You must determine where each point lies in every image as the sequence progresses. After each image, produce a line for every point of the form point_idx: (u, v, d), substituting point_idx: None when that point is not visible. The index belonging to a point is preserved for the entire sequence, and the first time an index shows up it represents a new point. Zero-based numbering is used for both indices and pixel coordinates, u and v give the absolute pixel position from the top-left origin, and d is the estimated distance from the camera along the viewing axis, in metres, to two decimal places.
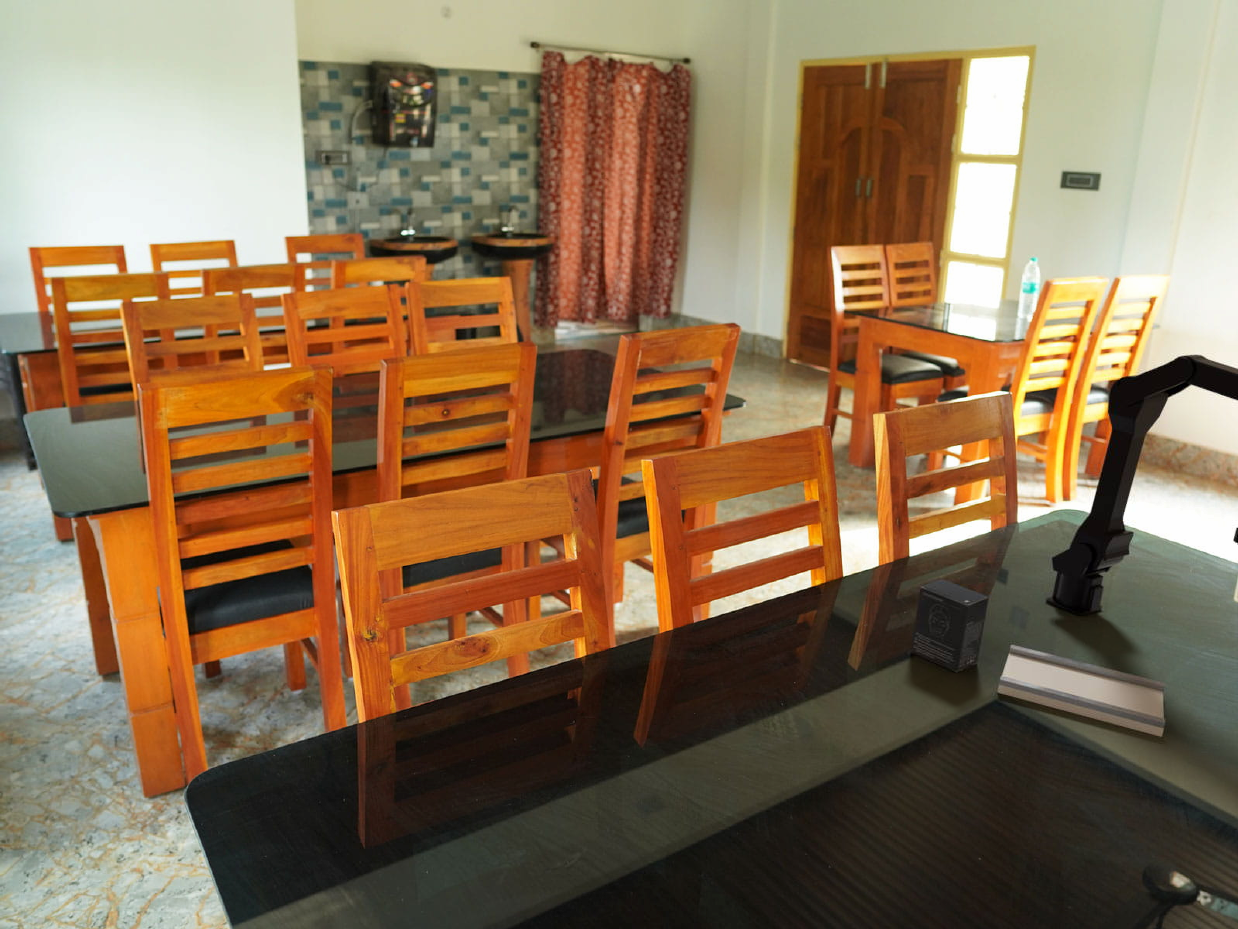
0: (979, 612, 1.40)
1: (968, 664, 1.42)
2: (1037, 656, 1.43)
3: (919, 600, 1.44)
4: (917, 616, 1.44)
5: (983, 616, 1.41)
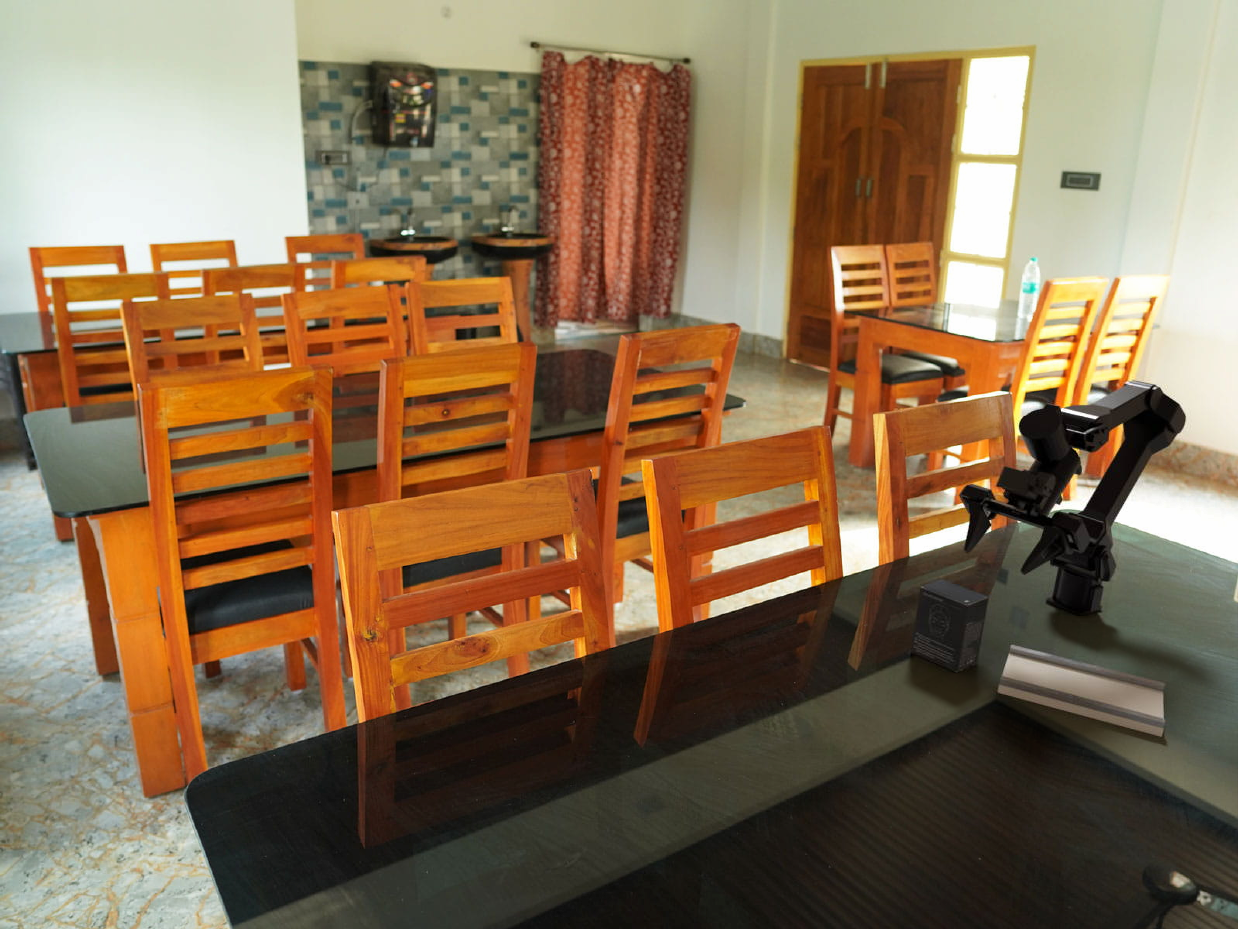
0: (979, 612, 1.40)
1: (968, 664, 1.42)
2: (1037, 656, 1.43)
3: (919, 600, 1.44)
4: (917, 616, 1.44)
5: (983, 616, 1.41)
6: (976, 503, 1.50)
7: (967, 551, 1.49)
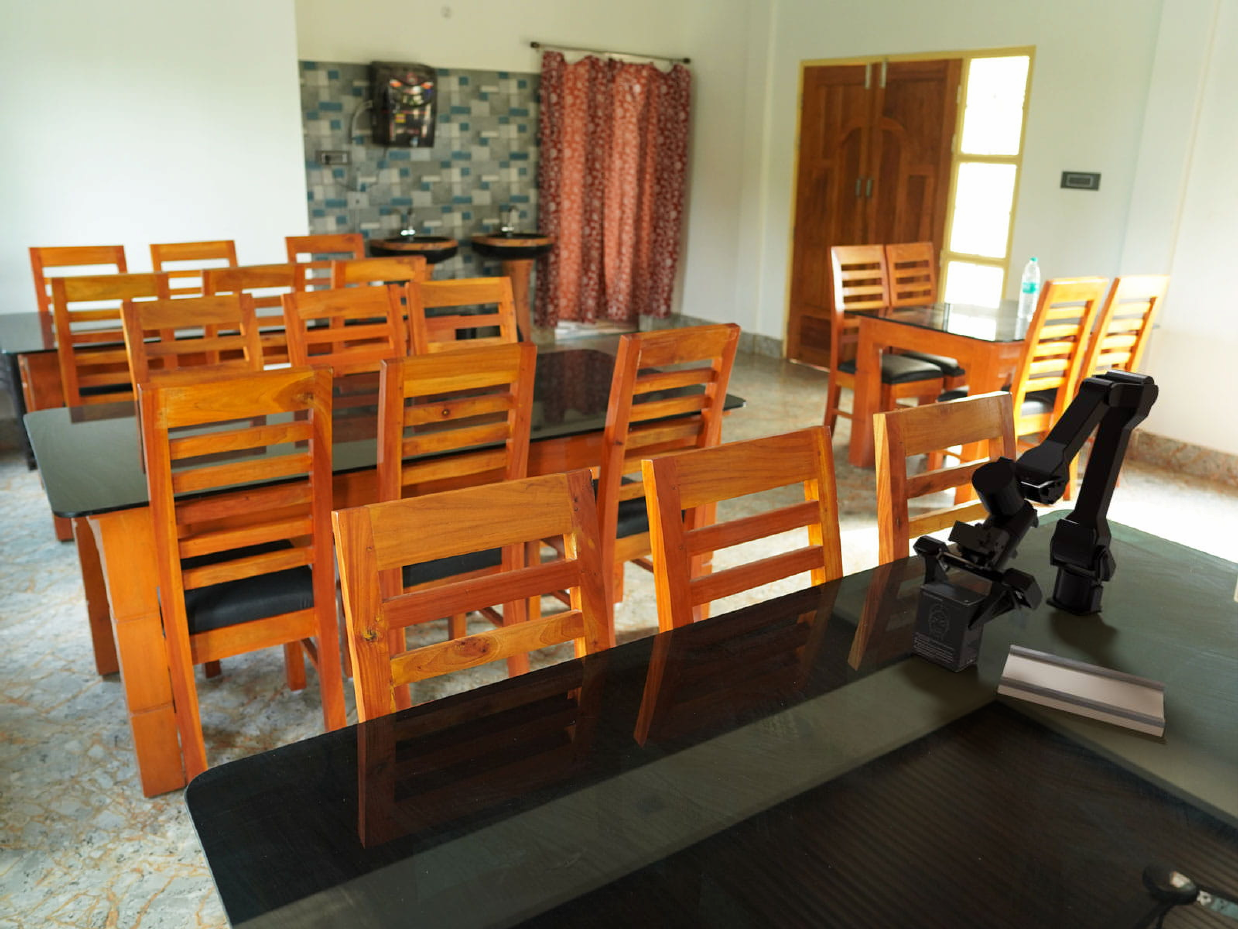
0: None
1: (968, 664, 1.42)
2: (1037, 656, 1.43)
3: (919, 600, 1.44)
4: (917, 616, 1.44)
5: None
6: (932, 557, 1.46)
7: None
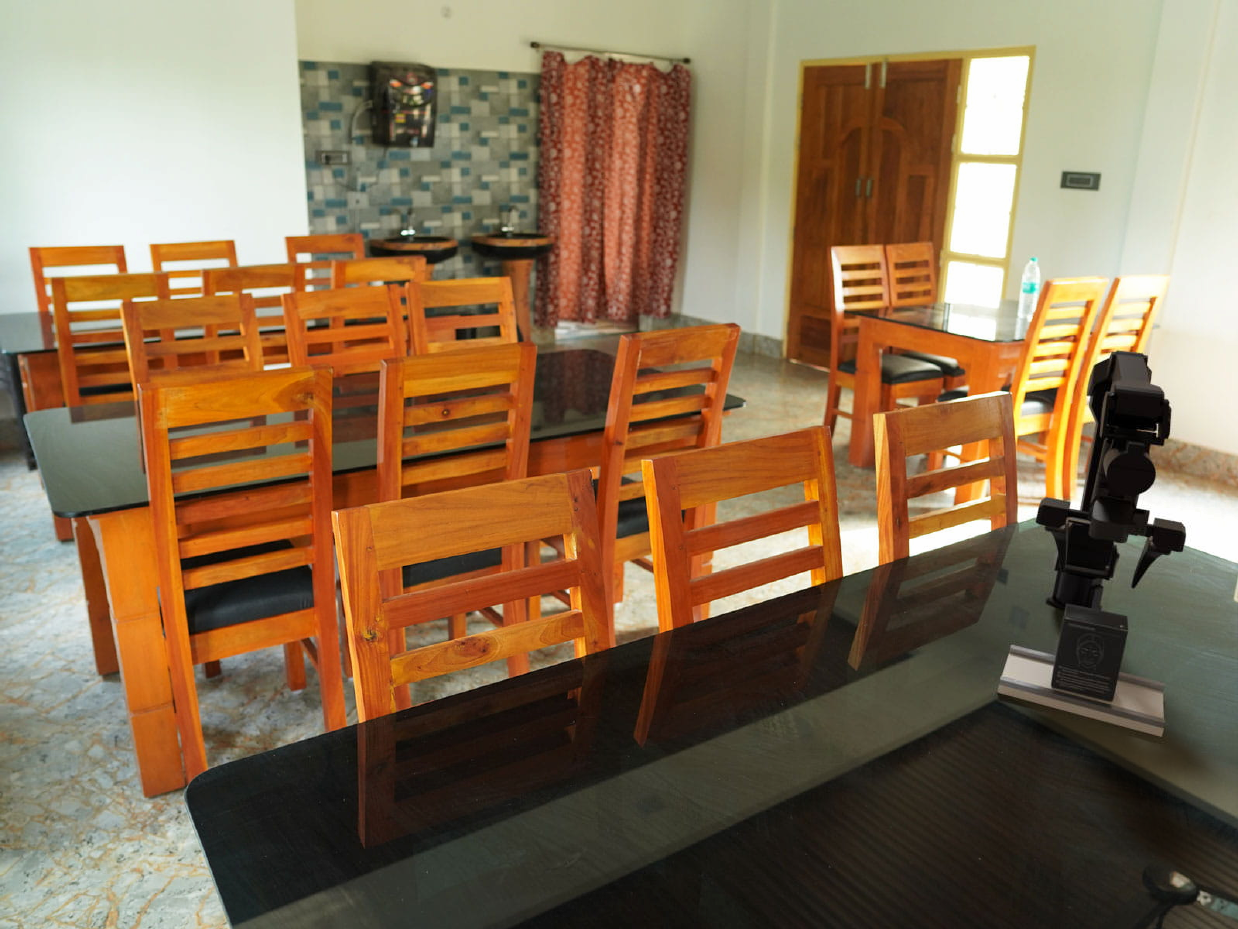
0: None
1: None
2: (1037, 656, 1.43)
3: (1063, 632, 1.33)
4: (1060, 649, 1.34)
5: None
6: (1061, 532, 1.41)
7: (1064, 571, 1.45)
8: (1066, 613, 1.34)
